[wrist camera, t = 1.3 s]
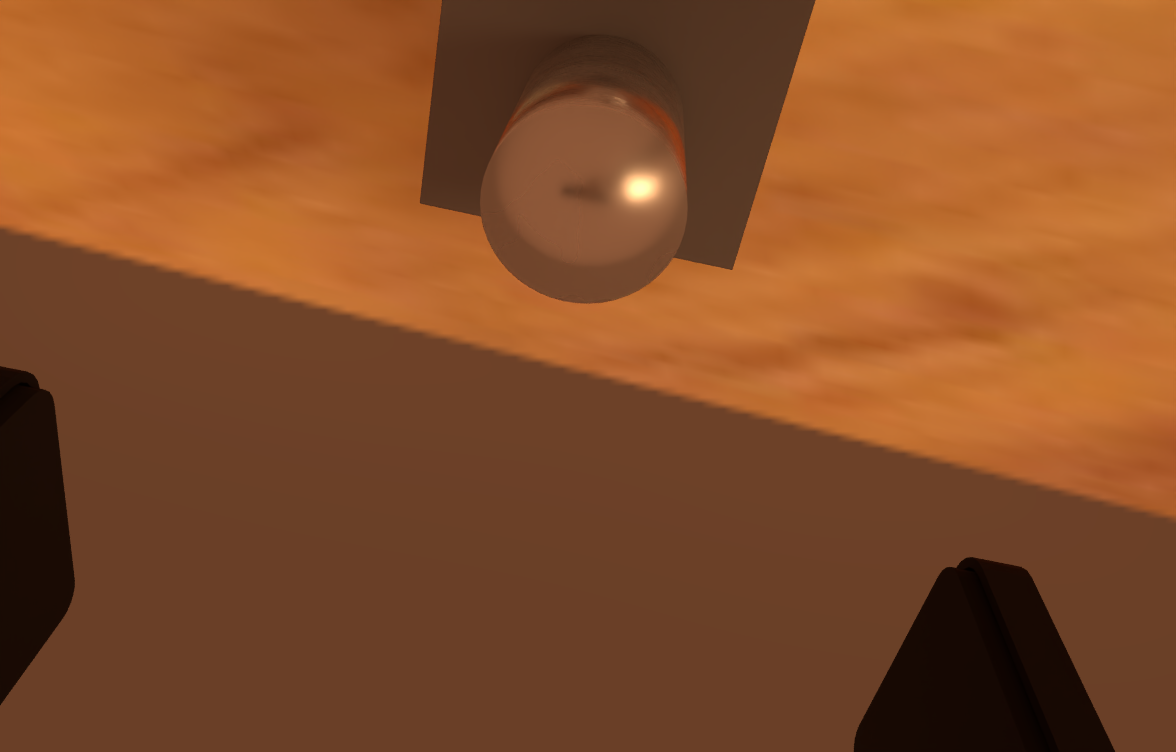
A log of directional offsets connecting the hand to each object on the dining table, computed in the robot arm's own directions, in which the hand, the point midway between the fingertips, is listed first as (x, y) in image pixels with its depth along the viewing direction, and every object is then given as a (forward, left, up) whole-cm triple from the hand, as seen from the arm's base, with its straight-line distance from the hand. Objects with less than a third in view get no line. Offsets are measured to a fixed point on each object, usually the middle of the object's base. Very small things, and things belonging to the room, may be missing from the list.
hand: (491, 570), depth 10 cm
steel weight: (0, 0, -16) cm, 16 cm away
